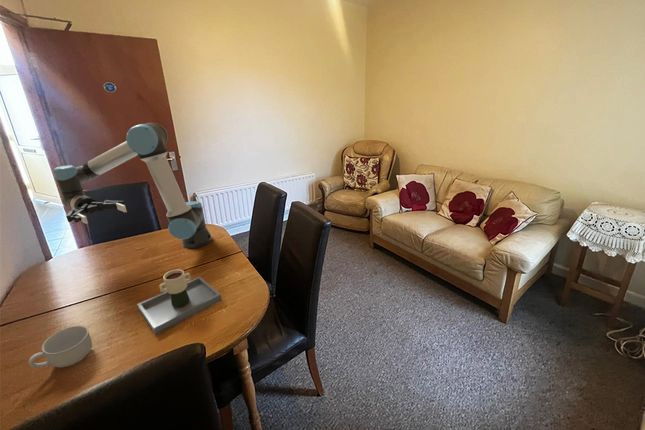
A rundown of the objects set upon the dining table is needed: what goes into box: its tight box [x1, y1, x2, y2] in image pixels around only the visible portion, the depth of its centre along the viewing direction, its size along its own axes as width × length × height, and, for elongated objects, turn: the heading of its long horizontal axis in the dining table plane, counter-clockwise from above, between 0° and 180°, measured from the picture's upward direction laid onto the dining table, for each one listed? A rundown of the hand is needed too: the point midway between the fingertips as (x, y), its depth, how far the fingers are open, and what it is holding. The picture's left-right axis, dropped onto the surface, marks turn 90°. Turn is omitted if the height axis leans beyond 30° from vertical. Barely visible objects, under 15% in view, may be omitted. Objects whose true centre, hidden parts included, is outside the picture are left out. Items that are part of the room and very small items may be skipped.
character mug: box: [158, 268, 192, 307], centre depth 107 cm, size 11×7×13 cm, turn 136°
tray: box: [136, 276, 223, 336], centre depth 109 cm, size 24×18×3 cm
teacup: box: [28, 325, 93, 369], centre depth 86 cm, size 14×11×8 cm
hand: (106, 214), depth 113 cm, fingers open, 13 cm apart
